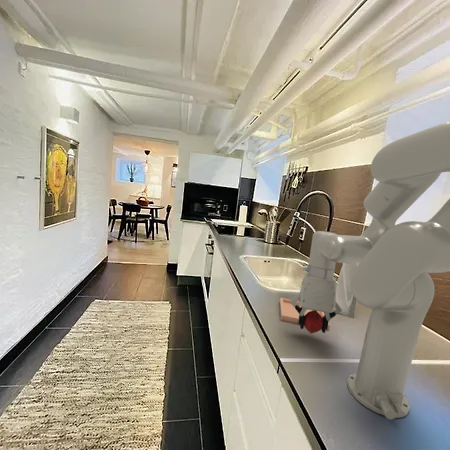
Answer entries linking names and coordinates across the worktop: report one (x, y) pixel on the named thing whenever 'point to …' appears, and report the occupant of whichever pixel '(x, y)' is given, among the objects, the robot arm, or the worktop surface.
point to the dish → (292, 312)
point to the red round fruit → (313, 321)
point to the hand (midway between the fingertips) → (312, 328)
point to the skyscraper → (346, 289)
